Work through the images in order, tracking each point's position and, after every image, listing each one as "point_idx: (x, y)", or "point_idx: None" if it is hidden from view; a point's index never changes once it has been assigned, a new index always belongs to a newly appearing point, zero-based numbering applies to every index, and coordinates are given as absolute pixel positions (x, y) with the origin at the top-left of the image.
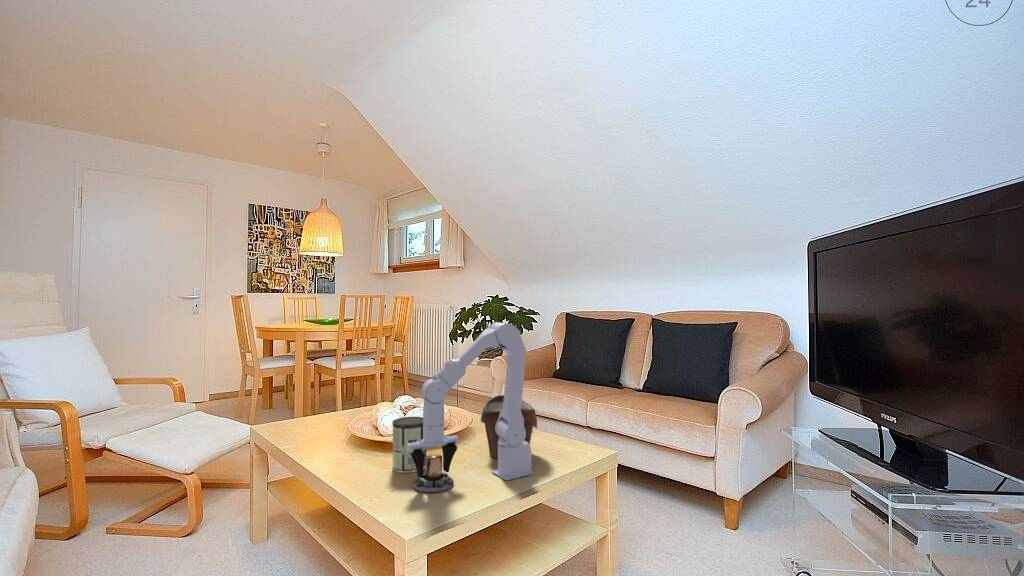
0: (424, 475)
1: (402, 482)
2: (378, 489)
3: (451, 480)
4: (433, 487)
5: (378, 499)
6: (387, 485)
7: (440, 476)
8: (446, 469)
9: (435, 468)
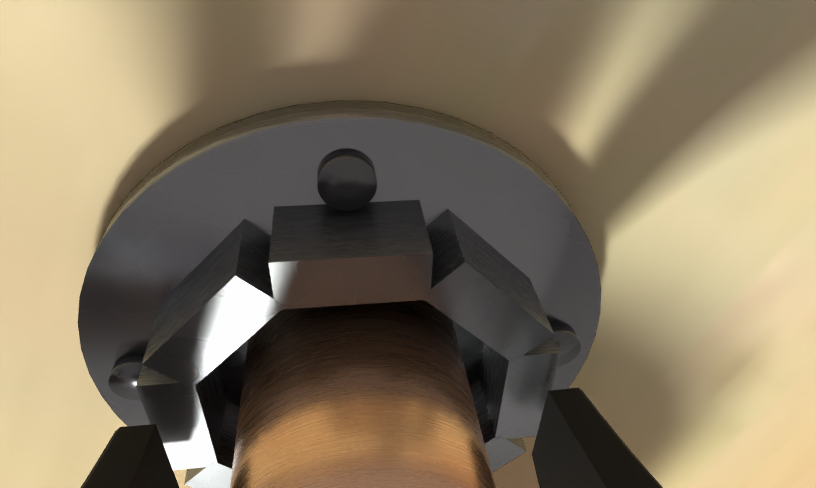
0: None
1: None
2: (788, 426)
3: (109, 312)
4: (430, 223)
5: None
6: (686, 460)
7: (294, 354)
8: (147, 467)
9: (404, 475)
